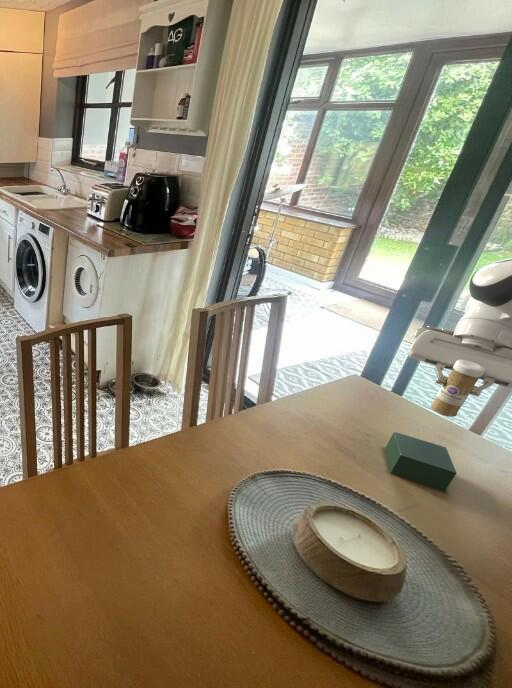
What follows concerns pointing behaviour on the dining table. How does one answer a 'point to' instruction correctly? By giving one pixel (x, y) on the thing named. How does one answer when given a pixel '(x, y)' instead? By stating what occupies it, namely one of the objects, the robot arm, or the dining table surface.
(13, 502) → the dining table surface
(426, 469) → the riser block
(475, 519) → the dining table surface
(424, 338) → the robot arm
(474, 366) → the sprinkles bottle
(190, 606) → the dining table surface
